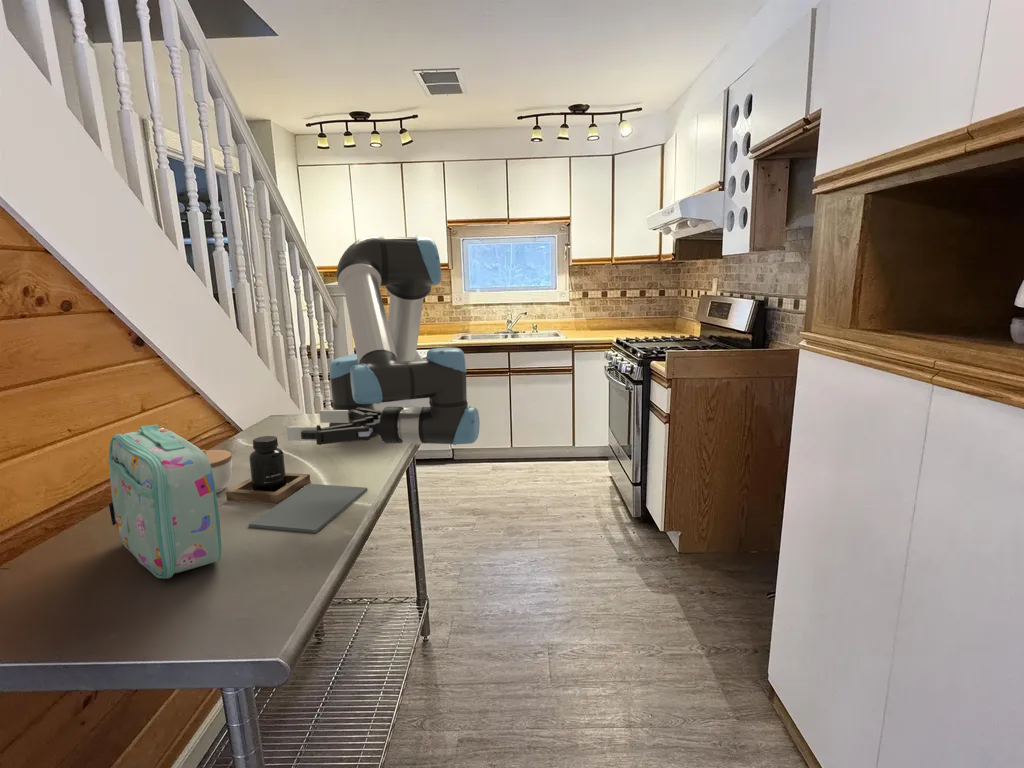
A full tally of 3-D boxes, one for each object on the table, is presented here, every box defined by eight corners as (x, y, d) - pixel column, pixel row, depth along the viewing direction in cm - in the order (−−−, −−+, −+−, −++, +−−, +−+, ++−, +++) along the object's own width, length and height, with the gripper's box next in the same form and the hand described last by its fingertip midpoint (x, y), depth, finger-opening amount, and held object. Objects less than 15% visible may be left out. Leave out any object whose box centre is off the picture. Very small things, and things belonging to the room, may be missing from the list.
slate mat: (309, 486, 119) (309, 483, 119) (367, 490, 116) (367, 487, 116) (248, 526, 100) (248, 523, 100) (316, 533, 97) (315, 529, 97)
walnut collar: (264, 479, 124) (263, 471, 123) (310, 482, 121) (309, 474, 121) (226, 500, 112) (225, 491, 112) (277, 504, 110) (276, 495, 109)
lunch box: (110, 541, 95) (89, 426, 91) (174, 520, 103) (157, 413, 99) (162, 596, 79) (139, 457, 74) (234, 566, 86) (217, 439, 82)
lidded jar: (173, 491, 117) (167, 451, 116) (225, 478, 125) (220, 439, 123) (189, 505, 110) (183, 462, 108) (243, 489, 118) (238, 449, 116)
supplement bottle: (274, 498, 113) (268, 444, 110) (246, 496, 114) (239, 442, 112) (293, 486, 119) (288, 434, 117) (266, 484, 121) (260, 433, 118)
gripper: (382, 462, 98) (274, 460, 100) (421, 426, 122) (333, 425, 125) (380, 423, 96) (270, 422, 99) (419, 394, 121) (330, 394, 123)
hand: (305, 424), depth 112 cm, fingers open, 13 cm apart
